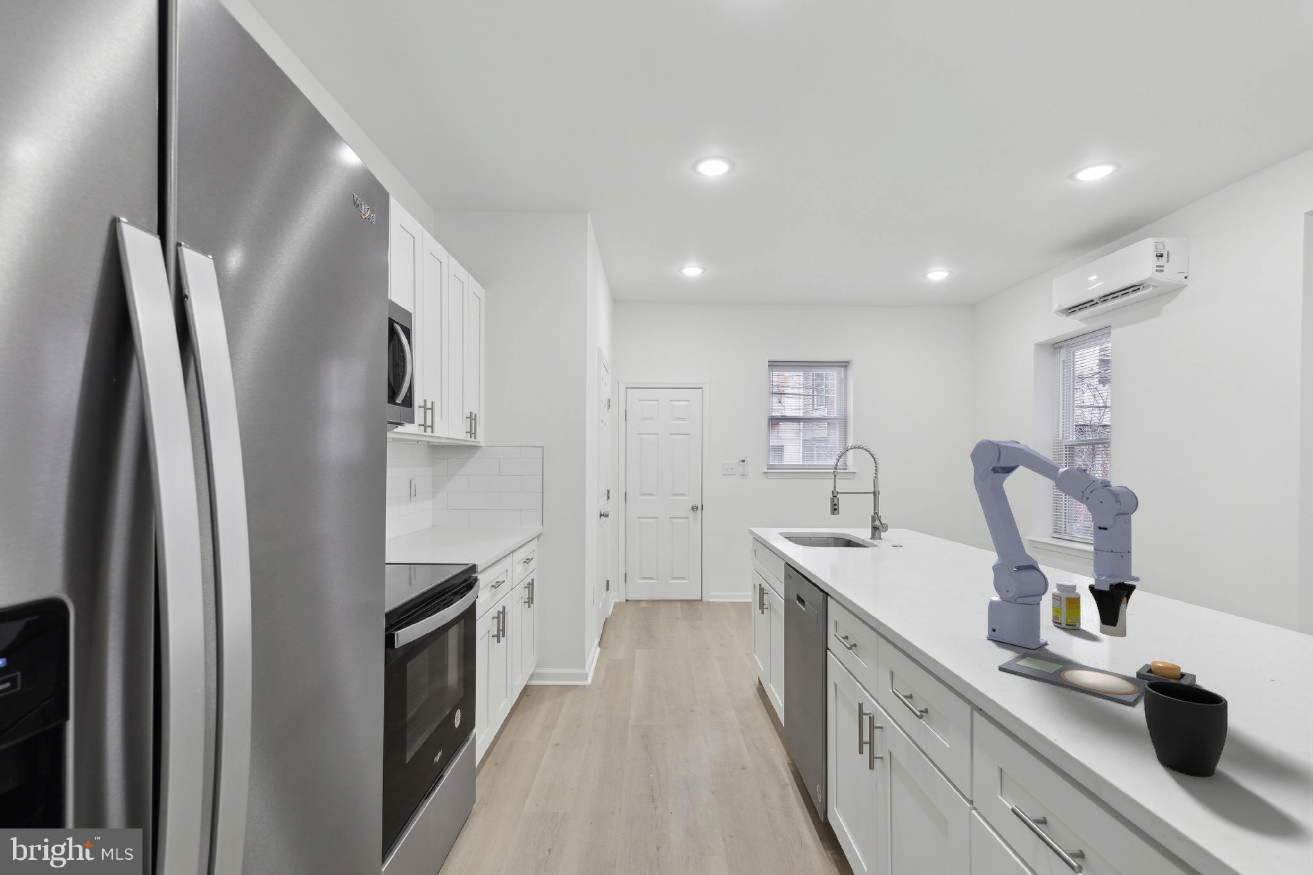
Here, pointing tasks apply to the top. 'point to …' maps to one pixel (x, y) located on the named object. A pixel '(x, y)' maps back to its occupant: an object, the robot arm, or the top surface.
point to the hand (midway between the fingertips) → (1112, 623)
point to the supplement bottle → (1066, 606)
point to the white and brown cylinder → (1121, 625)
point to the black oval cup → (1186, 726)
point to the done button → (1166, 669)
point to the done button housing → (1147, 675)
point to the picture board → (1077, 677)
